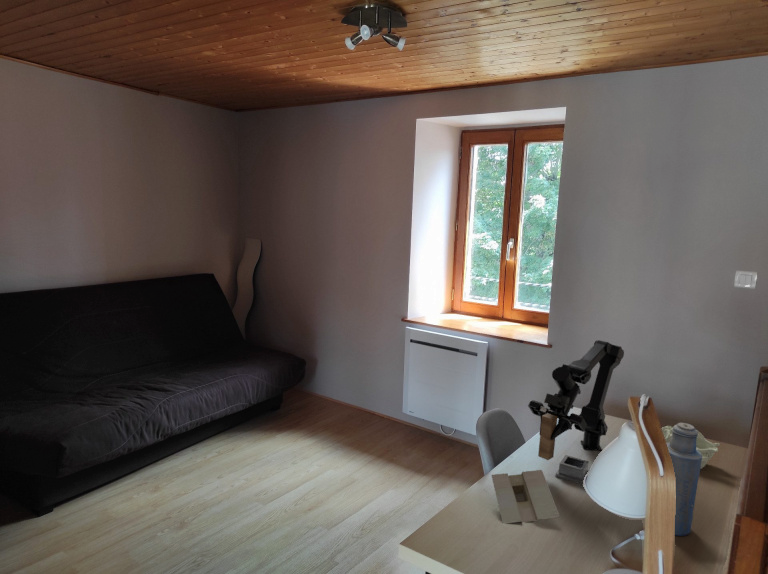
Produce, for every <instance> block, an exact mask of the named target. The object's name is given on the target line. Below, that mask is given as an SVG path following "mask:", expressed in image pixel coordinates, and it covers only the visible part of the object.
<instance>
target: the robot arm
mask: <svg viewBox="0 0 768 574" xmlns="http://www.w3.org/2000/svg"><path fill="white" fill-rule="evenodd" d="M624 355H625V351H624V349H623V348H622V346H619V345H615V344H612V343H610V342H608V341H605V340H595V341H594V343H593V346H591V347H590V349H589V350H588V351H587V352H586V353H585V354H584V355H583V356H582V357H581V358H580V359H578V360H574V361H572V362H570V364H568V365H567V364H562V365H561V366H558V367H556V368H555V369H554V370H553V371H551V372H552V373H551V377H552V379H553V381H554V383H555V384H556V386H557V388H558V389H559V390H558V392H557V393H554V394H550V393H546V395H545V399H544V403H545V404H547V407H548V408H547V407H545V406H544V404H543V402H541V401H537V400H534V399H533V400H530V401H529V403H528V405H527V407H528V408H529V410H530V411H531V413H532V414H533V415H534V416H535V415H536V416H537V417H540V425H539V426H540V427H539V434H540V433H541V422H542V416H543V415H545V414H547V413H549V414H552V415H555V416H557V426H556V428H555V429H554V431H553V433H552V435H551V438H550V439H551V440H553V439H555V440H556V438H557V437H559V436H560V435H561V434H563V433H565V432H567V431H569V430H570V431H571V430H573V428H572V427H574V428H575V430H577V431H580V432H583V440H580V445H581V446H582V449H584V450H590V451H600V452H601V451H603V448H602V446H601V445H600V443H601V436H606V435H607V431H608V425H607V422H606V420H605V418H606V413H605V411H604V404H605V399H606V396H607V392H608V390H609V386H610V382H611V379H612V376H613V373H614V372H613V371H614V370H615V369H616V368H617V367H618V366H619V365H620V364H621V361H622V360H623V358H624ZM597 364H599V367H598V369H597V370H598V371H597V374H596V378H595V381H594V385H593V389H592V392H591V394H590V395H591V396H590V400H589V402H588V404H586V405H583V406H582V407H581V411H580V414H576V413H574V412H571V413H570V414H569V412H570V410H571V409H572V410H573V408H574V407H575V406H574V403H575V401H576V398H577V397H578V395H580V394H581V393H582V392H581V386H580V385H578V384H582V385H586V384H587V383H588V382H590V380H591V377H592V370H593V369H594V368H595V367H596V366H597Z"/></svg>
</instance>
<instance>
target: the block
mask: <svg viewBox="0 0 768 574" xmlns="http://www.w3.org/2000/svg"><path fill="white" fill-rule="evenodd" d="M540 424H541V433H540V432H539V445H538V446H539V447H538V457H539V458H541V459H543V460H546V461H550V460H551V459H553V458H554V453H555V444H556V438H555V439H553V440H551V439H550V438H551V435H552V433H553V431H554V429H555V428H556V426H557V424H558V418H557V416H555V415H552V414H549V413H547V414H545V415H543V416H542V422H541V421H540Z"/></svg>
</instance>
